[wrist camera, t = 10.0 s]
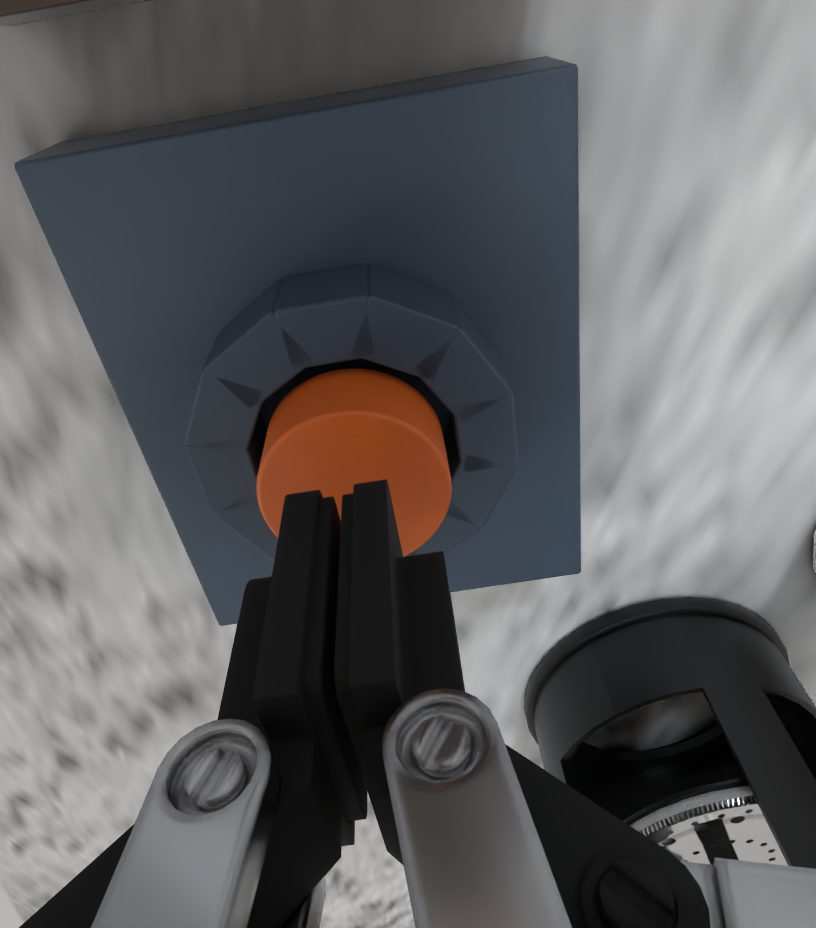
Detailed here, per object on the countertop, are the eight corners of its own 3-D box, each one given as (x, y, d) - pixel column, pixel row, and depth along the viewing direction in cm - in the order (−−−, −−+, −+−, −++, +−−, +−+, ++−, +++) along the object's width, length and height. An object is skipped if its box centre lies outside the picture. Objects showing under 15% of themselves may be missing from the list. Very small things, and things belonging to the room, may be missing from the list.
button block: (57, 142, 14) (-41, 185, 10) (549, 55, 13) (610, 71, 10) (232, 571, 20) (206, 681, 17) (561, 522, 20) (601, 624, 17)
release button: (244, 382, 13) (230, 429, 12) (431, 352, 13) (440, 396, 11) (291, 526, 15) (283, 581, 14) (452, 501, 15) (462, 555, 13)
